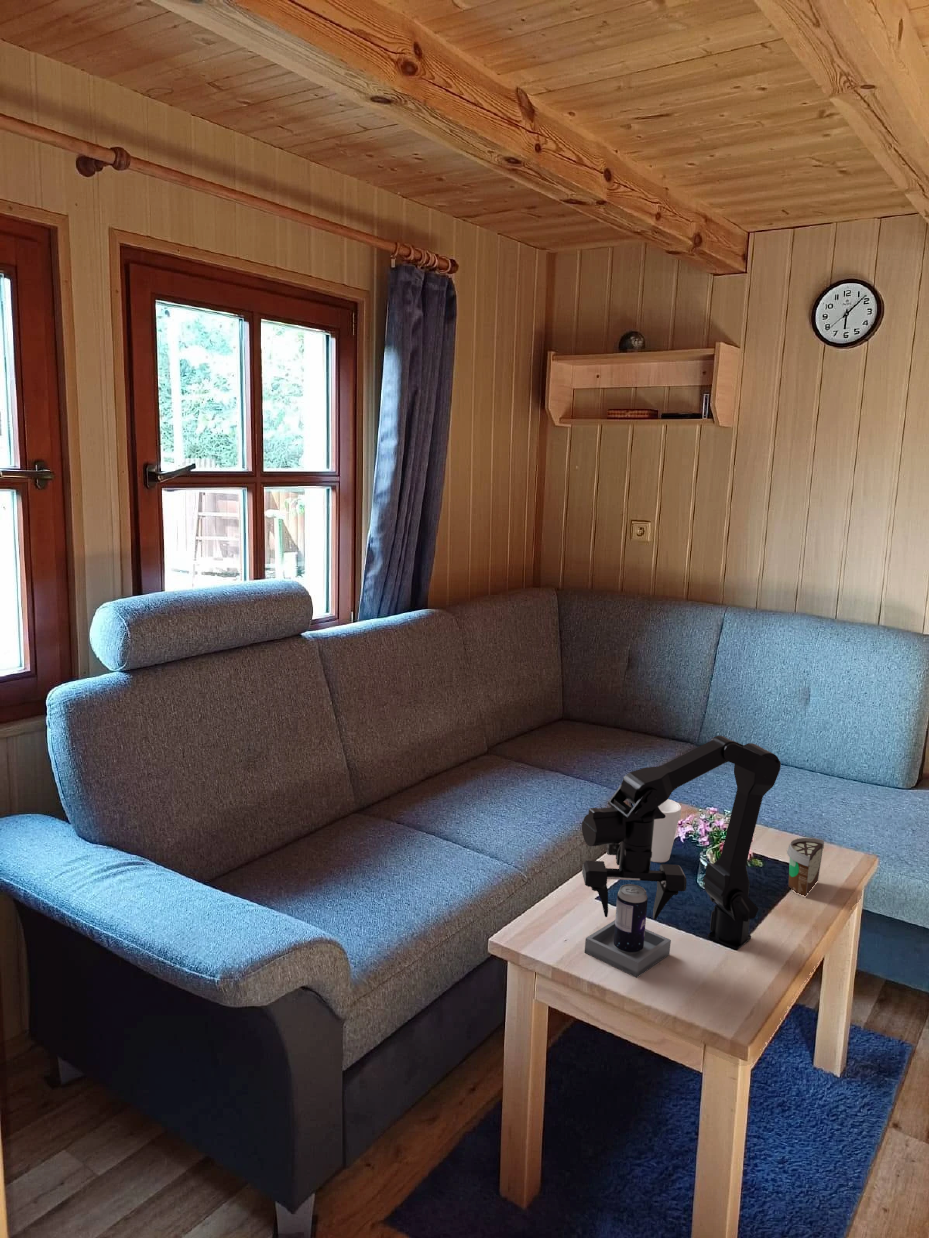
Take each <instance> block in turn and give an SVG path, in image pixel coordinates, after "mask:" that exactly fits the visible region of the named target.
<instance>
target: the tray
mask: <svg viewBox="0 0 929 1238" xmlns="http://www.w3.org/2000/svg"><path fill="white" fill-rule="evenodd" d="M614 929H615V919H614V920H613V921H611V922H609V923H607V924H606V925H604V926H603V927H602V928H600V929H598V930H596V931H595V932H593V933H592V934H590V935H588V936H587V937H585V941H584V942H585V943H584V953H585V954H587V955H588V956H591V955H592V956H591V957H593V958H595V959H597V960H599V961H601V962H603V963H605V964H608V965H609V966H612V967H614V968H616V969H618V970H619V971H622V972H624V973H625V974H628V975H630V976H632V977H634V978H635V979H636V978H639V977H640V976H641V975H642V974H644V973H645V972H647V971H648V970H650V969H651V968H652V967H654V966H655V965H657V964H658V963H659V962H661V961H662V960H664V959H665V958H667V957H668V956H670V952H671V943H672V942H671V941H672V940H671V939H669V938H667V937H666V936H663V935H660V934H658V933H657V932H654V931H652V930H649V929H647V928H645V935H644V946H643V949H642V950H640V951H639V952H638V953H636V954H625V953H622V952H620V951H619V950H618V949H617V947H616V946H615V945H614V943H613V941H614Z"/></svg>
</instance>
